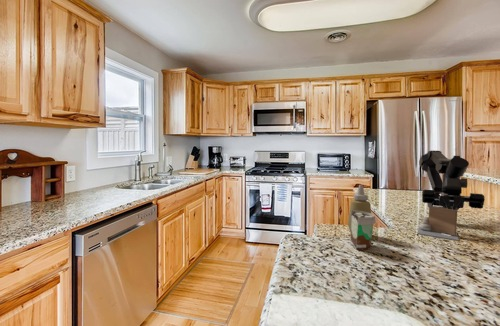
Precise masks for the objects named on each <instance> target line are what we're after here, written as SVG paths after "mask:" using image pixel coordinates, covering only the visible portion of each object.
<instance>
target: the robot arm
mask: <svg viewBox="0 0 500 326" xmlns="http://www.w3.org/2000/svg"><path fill="white" fill-rule="evenodd" d="M418 163H419V164H418V165H419V166H420V167H421V170H422V171H424V172H425V173H426V174H427V177H428V180H429V183H430V188H431V189H426V188H425V189H423V190H422V195H421V197H422V199H421V201H422V203H424V204H427V207H428V208H429V207H430V206H432V207H439V208H445V209H452V210H457V211H458V210H459V209H464V204H465V203H468V206H469V208H472V209H484V203H485V201H486V199H485V194H482V193H475V192H472V193H471V192H470V193H469V195H462V191H463V190H462V188H463V189H467V187H468V178H464V177H463V176H464V175H465V172H466V170H467V169H468V167H469V165H470V163H469V161H468V160H467V159H465V158H463V157H461V155H453V157H452V158H450V159H449V158H447V157H446V155H444V154H443V152H442V151H441V150H428V151H427V152H426V153H425V154H423V155H421V157H420V158H419V161H418ZM441 174H442V177H441ZM462 177H463V178H462Z"/></svg>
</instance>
